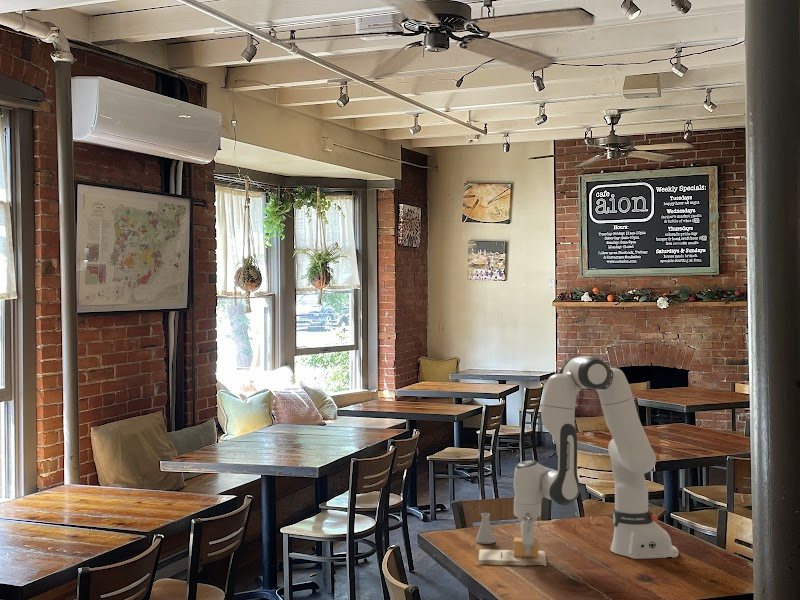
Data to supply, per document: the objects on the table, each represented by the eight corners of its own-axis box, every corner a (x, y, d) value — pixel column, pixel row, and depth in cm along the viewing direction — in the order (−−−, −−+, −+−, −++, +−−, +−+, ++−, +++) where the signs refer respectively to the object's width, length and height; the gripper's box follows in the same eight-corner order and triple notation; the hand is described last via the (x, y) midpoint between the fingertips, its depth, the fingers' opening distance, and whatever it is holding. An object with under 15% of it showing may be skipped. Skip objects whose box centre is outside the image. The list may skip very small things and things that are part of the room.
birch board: (544, 555, 316) (544, 550, 316) (546, 565, 304) (546, 561, 304) (479, 553, 318) (479, 549, 318) (478, 564, 306) (478, 559, 306)
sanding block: (537, 553, 312) (537, 538, 312) (538, 557, 308) (538, 541, 308) (513, 552, 313) (513, 537, 313) (514, 556, 309) (514, 541, 309)
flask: (494, 545, 329) (494, 517, 328) (474, 544, 330) (474, 516, 330) (496, 539, 336) (496, 512, 335) (476, 538, 337) (476, 511, 337)
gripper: (538, 518, 300) (538, 560, 300) (535, 503, 320) (535, 543, 320) (518, 517, 300) (518, 560, 301) (516, 502, 321) (517, 542, 321)
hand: (527, 551), depth 311 cm, fingers closed on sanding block, 4 cm apart
